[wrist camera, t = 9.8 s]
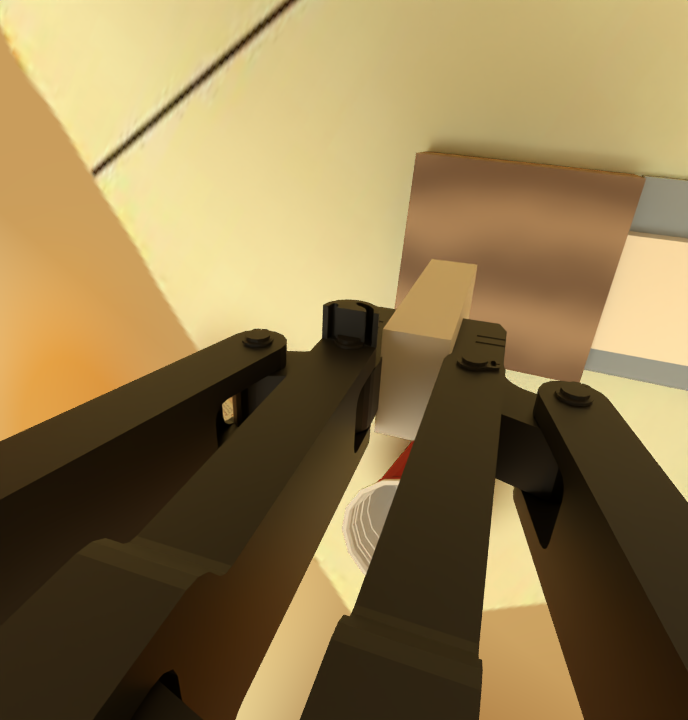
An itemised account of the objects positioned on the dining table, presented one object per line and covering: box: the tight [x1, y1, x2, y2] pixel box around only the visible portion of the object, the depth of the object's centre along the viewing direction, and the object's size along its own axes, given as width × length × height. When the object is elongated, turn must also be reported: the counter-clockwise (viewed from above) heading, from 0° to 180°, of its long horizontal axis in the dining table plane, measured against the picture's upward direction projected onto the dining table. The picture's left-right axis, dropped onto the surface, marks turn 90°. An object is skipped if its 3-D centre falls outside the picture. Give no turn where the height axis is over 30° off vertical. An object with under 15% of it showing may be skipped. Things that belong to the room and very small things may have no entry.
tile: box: [591, 231, 688, 366], centre depth 34 cm, size 8×10×2 cm
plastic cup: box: [342, 441, 414, 576], centre depth 42 cm, size 11×11×12 cm
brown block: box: [395, 152, 646, 382], centre depth 37 cm, size 14×14×4 cm
